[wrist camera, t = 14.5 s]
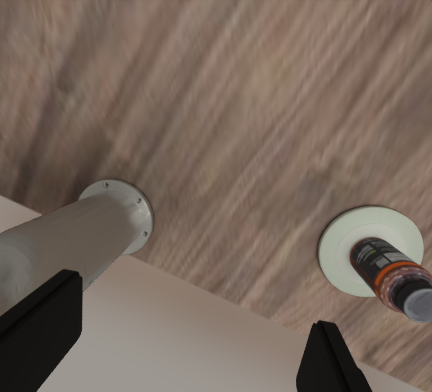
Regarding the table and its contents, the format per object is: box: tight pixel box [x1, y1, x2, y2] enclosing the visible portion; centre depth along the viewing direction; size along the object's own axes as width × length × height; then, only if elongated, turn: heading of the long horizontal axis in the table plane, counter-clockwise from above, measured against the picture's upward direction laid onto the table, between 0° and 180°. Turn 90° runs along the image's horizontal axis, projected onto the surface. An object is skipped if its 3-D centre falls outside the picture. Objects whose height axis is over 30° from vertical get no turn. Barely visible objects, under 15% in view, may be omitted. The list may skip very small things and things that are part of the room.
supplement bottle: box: [350, 237, 432, 323], centre depth 30 cm, size 6×6×11 cm
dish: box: [318, 206, 423, 297], centre depth 37 cm, size 14×14×2 cm
